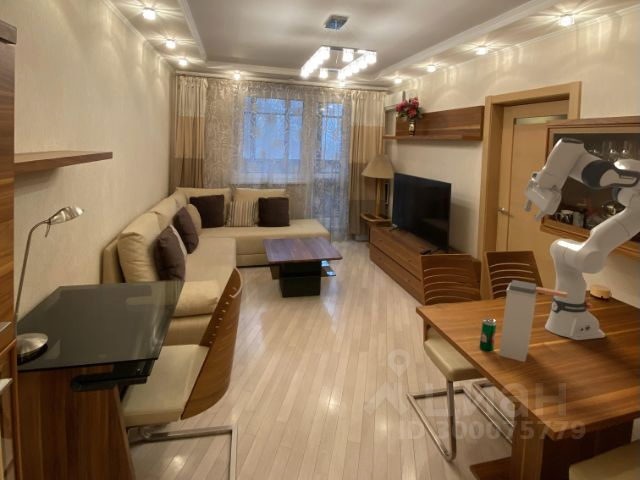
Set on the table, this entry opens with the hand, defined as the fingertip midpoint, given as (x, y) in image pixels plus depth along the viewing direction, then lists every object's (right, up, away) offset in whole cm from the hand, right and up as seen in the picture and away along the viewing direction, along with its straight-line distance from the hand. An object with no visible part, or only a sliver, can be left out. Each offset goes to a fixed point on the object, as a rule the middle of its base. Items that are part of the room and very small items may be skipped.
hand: (531, 215), depth 158 cm
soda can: (-15, -52, +4) cm, 54 cm away
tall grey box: (-6, -52, +1) cm, 53 cm away
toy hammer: (-1, -28, -7) cm, 29 cm away
